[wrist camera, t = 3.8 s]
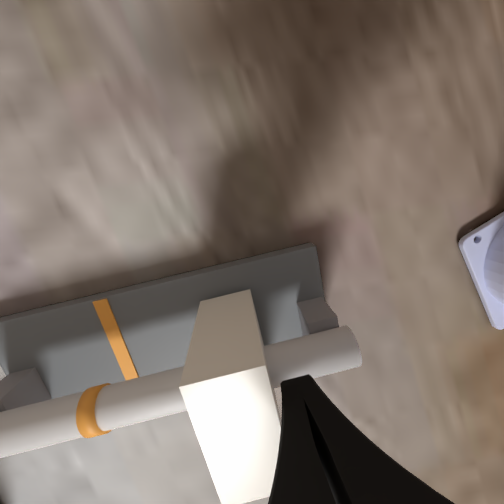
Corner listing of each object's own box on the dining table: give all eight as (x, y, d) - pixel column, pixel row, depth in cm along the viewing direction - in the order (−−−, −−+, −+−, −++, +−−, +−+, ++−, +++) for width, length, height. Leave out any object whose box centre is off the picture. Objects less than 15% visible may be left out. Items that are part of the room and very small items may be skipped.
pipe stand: (310, 242, 16) (351, 270, 11) (330, 361, 19) (372, 432, 13) (-6, 318, 16) (-128, 388, 10) (55, 430, 18) (-18, 534, 13)
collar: (250, 289, 15) (265, 365, 9) (270, 372, 17) (296, 489, 10) (200, 301, 15) (178, 387, 9) (225, 383, 17) (223, 508, 10)
